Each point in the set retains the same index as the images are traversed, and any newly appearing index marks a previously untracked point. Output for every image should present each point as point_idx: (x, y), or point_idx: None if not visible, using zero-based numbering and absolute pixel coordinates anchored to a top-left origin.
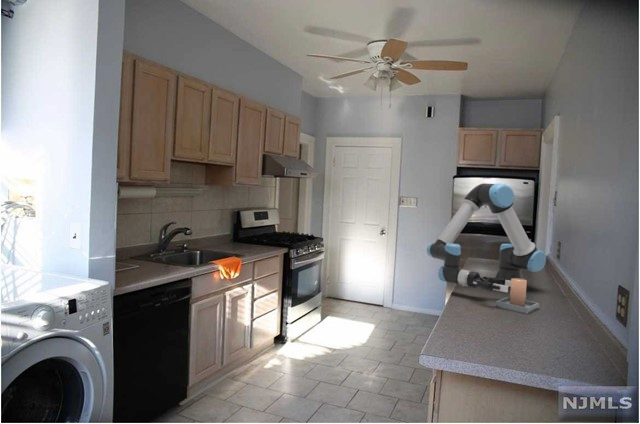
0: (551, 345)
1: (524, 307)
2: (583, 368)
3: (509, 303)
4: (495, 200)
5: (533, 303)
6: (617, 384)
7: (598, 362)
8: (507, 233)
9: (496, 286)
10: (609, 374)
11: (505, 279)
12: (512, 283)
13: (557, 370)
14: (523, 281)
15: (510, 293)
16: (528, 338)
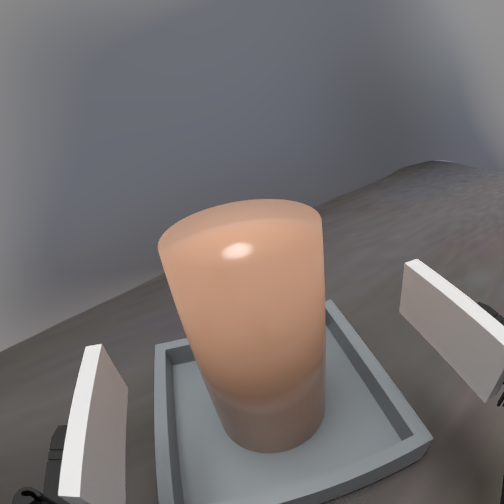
0: (446, 196)
1: (335, 310)
2: (446, 171)
3: (266, 468)
4: None
5: (167, 366)
6: (433, 161)
7: (412, 173)
8: None
9: (499, 315)
10: (424, 166)
11: (52, 502)
12: (321, 268)
13: (481, 172)
14: (265, 200)
15: (314, 374)
16: (475, 211)
